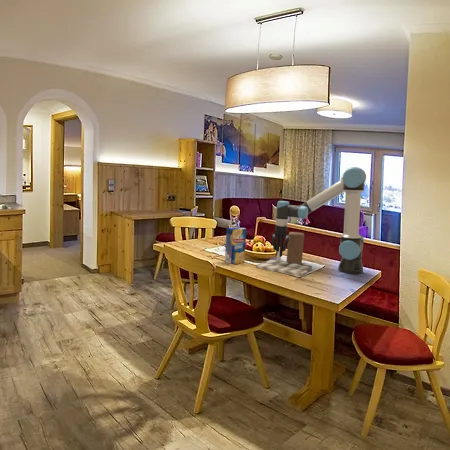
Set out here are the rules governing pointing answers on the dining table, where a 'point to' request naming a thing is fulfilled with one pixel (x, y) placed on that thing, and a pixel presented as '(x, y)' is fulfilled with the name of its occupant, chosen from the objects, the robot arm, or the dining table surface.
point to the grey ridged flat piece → (281, 263)
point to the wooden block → (295, 247)
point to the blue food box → (235, 245)
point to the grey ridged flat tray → (281, 269)
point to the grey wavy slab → (300, 266)
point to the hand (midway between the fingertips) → (278, 261)
